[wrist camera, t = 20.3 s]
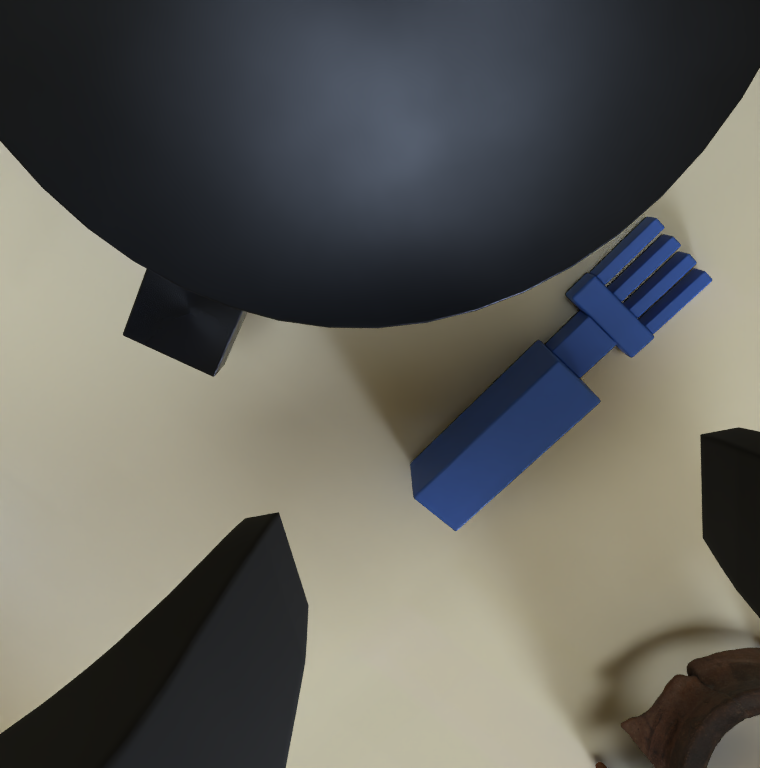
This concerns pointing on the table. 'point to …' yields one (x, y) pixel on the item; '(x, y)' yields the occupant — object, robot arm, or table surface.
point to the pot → (183, 324)
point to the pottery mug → (698, 709)
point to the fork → (554, 377)
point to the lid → (366, 138)
